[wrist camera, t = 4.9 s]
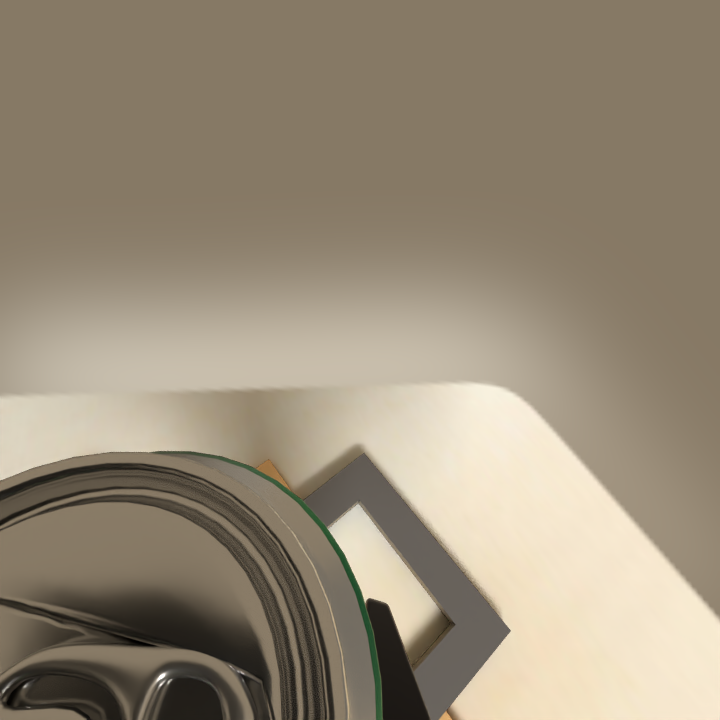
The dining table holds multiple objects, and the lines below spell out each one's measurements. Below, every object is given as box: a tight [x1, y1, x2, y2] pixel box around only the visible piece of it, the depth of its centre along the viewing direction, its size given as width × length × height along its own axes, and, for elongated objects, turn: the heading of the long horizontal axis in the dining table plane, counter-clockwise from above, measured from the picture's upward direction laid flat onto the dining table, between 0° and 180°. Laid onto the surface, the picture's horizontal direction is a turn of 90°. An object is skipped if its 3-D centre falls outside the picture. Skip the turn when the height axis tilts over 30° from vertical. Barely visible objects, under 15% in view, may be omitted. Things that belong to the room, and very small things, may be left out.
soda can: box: [0, 451, 383, 720], centre depth 8 cm, size 5×5×12 cm
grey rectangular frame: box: [256, 453, 511, 720], centre depth 18 cm, size 11×17×1 cm, turn 39°
